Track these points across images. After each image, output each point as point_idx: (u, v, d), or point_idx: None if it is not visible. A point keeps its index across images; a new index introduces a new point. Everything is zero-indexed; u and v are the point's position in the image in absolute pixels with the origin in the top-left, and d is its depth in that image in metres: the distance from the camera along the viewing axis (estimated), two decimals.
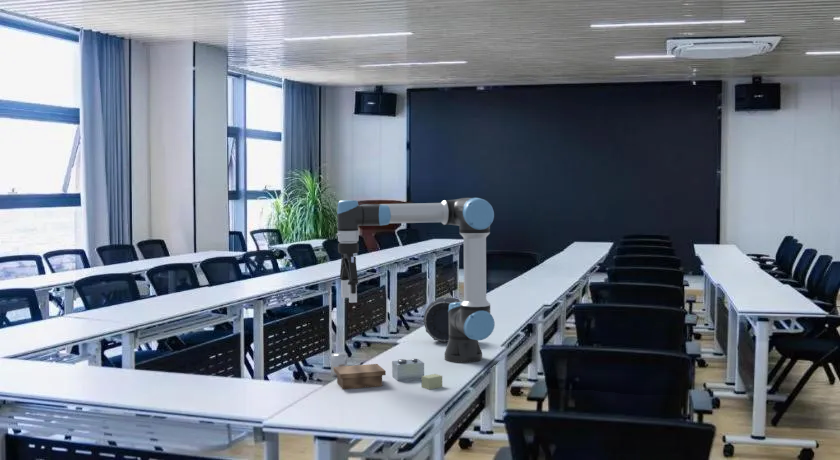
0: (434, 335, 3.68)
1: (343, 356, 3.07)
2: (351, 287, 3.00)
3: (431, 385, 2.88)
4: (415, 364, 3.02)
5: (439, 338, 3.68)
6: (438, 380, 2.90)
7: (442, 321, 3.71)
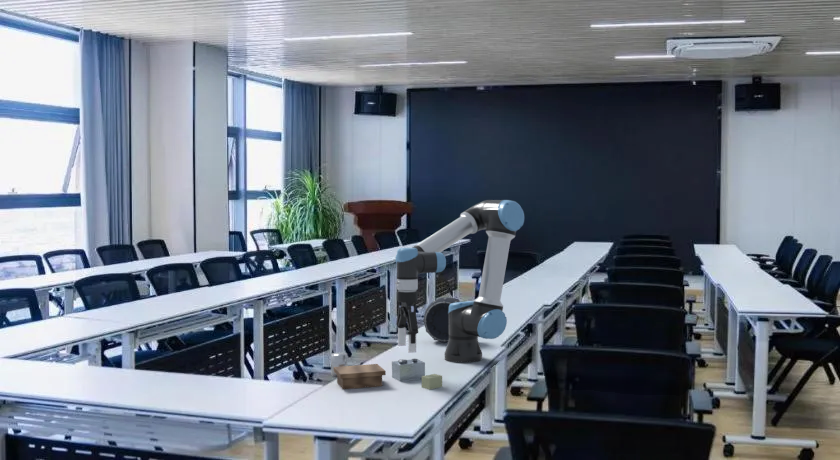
0: (434, 335, 3.68)
1: (343, 356, 3.07)
2: (411, 337, 2.96)
3: (431, 385, 2.88)
4: (416, 364, 3.02)
5: (439, 338, 3.68)
6: (438, 379, 2.90)
7: (442, 321, 3.71)
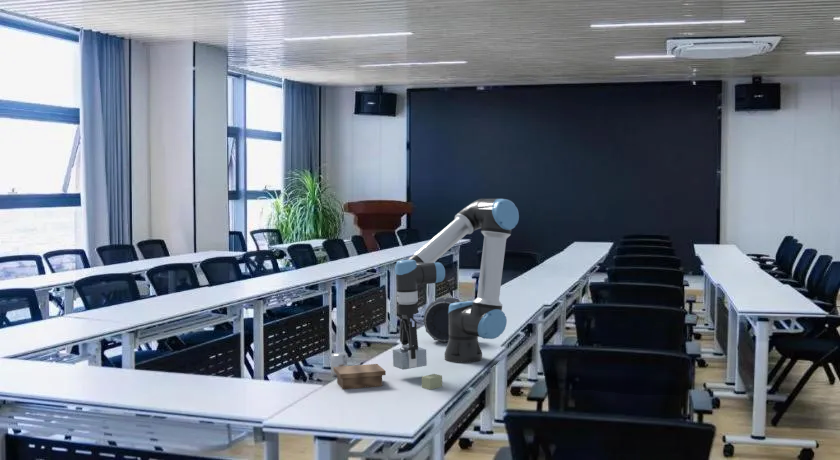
0: (434, 335, 3.68)
1: (343, 356, 3.07)
2: (411, 352, 2.99)
3: (432, 385, 2.88)
4: (418, 351, 3.02)
5: (439, 338, 3.68)
6: (438, 379, 2.90)
7: (442, 321, 3.71)
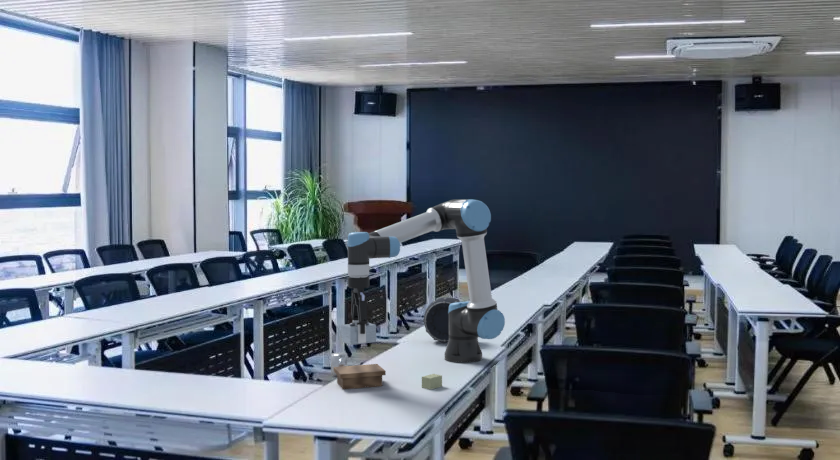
0: (434, 335, 3.68)
1: (343, 356, 3.07)
2: None
3: (432, 385, 2.88)
4: None
5: (439, 338, 3.68)
6: (439, 379, 2.90)
7: (442, 321, 3.71)
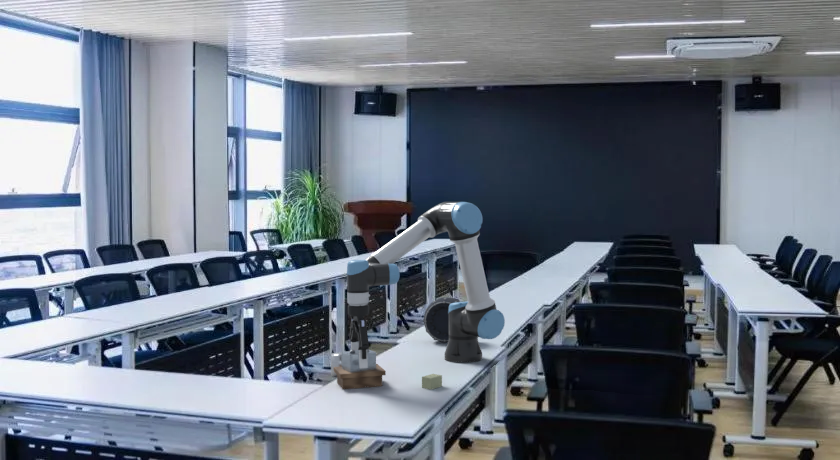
0: (434, 335, 3.68)
1: None
2: None
3: (432, 385, 2.88)
4: None
5: (439, 338, 3.68)
6: (439, 379, 2.90)
7: (442, 321, 3.71)
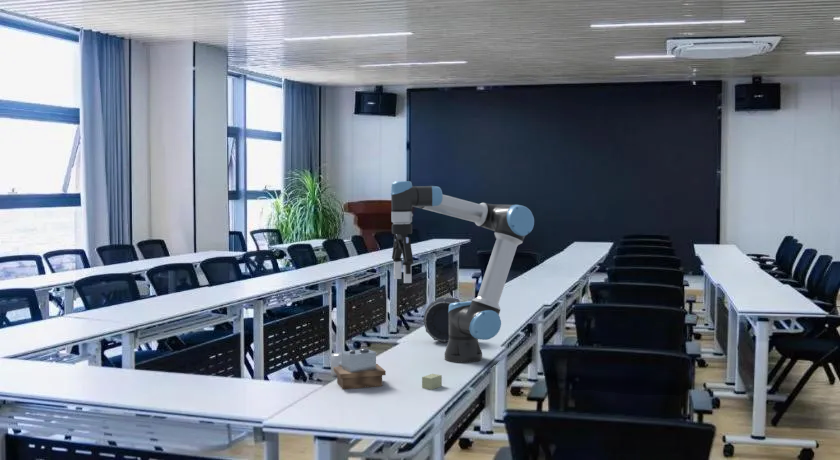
0: (434, 335, 3.68)
1: None
2: None
3: (433, 385, 2.88)
4: None
5: (439, 338, 3.68)
6: (439, 379, 2.90)
7: (442, 321, 3.71)
